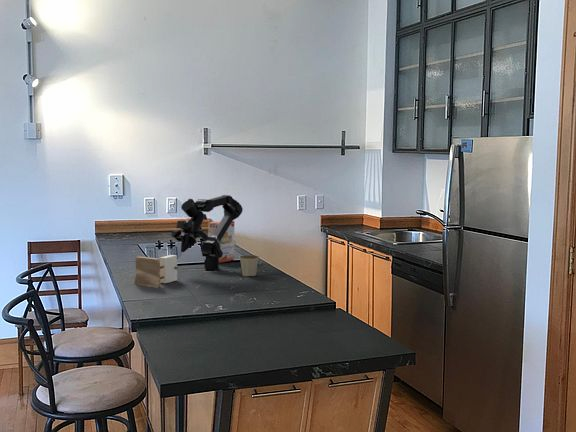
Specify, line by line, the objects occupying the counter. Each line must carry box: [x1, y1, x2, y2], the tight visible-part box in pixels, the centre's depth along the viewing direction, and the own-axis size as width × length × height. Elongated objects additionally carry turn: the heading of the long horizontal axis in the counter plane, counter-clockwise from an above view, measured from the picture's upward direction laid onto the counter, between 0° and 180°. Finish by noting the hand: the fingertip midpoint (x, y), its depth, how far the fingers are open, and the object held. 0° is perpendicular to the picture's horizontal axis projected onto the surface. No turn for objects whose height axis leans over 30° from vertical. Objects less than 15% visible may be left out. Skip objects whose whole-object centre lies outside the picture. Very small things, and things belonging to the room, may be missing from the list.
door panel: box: [159, 254, 179, 284], centre depth 281 cm, size 8×4×11 cm, turn 152°
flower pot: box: [238, 254, 260, 277], centre depth 297 cm, size 9×9×9 cm
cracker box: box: [207, 220, 235, 264], centre depth 331 cm, size 14×6×21 cm, turn 143°
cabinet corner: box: [134, 256, 164, 289], centre depth 279 cm, size 15×14×12 cm
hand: (182, 251), depth 290 cm, fingers closed
